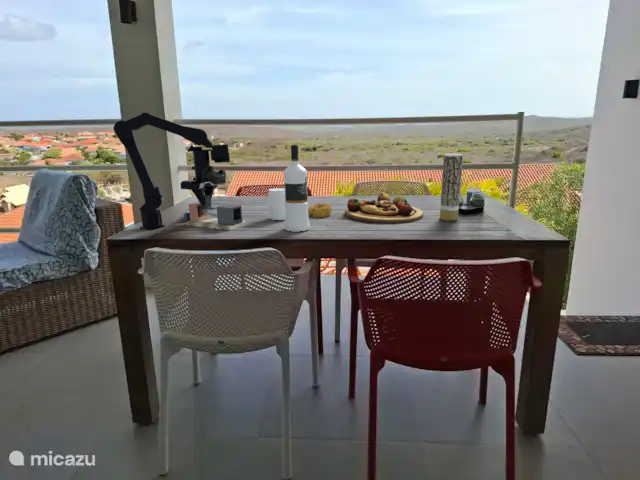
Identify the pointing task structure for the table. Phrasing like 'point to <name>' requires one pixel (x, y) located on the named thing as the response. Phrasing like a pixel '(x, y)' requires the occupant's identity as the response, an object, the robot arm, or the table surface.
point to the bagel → (320, 210)
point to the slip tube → (207, 208)
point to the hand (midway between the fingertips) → (205, 204)
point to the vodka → (296, 195)
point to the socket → (195, 212)
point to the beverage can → (276, 203)
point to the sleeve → (229, 214)
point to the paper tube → (451, 186)
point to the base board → (215, 224)
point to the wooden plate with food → (383, 210)
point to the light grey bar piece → (187, 216)
